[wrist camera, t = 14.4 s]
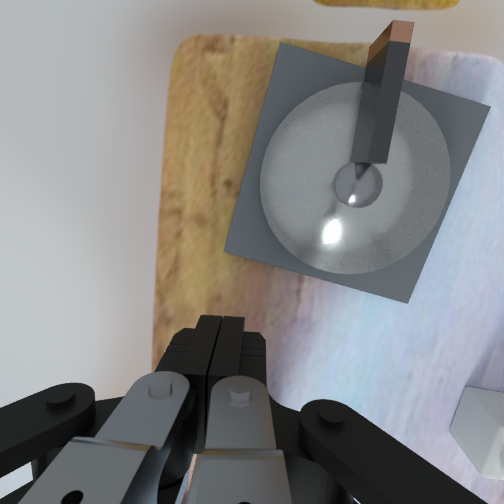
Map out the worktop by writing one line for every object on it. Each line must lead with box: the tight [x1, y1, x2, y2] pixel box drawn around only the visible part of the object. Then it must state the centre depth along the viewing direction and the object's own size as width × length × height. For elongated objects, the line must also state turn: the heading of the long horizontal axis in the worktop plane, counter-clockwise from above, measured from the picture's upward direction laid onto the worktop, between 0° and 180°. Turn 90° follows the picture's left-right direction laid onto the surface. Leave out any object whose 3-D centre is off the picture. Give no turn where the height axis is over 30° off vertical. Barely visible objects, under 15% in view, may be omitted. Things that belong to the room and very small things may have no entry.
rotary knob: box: [260, 20, 451, 274], centre depth 32 cm, size 22×19×8 cm
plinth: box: [224, 42, 491, 304], centre depth 38 cm, size 22×22×2 cm
